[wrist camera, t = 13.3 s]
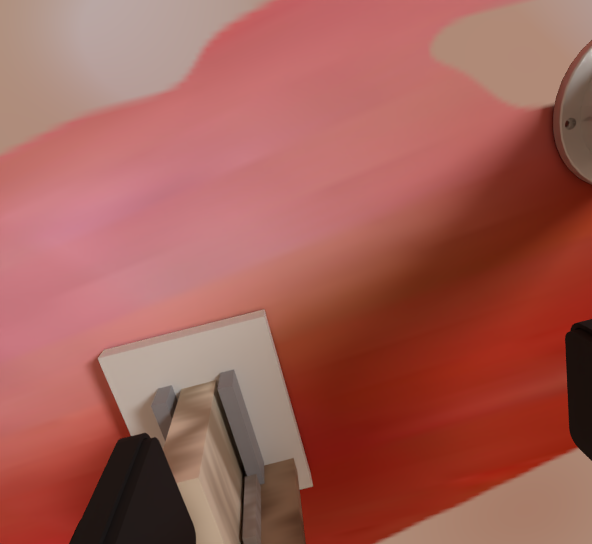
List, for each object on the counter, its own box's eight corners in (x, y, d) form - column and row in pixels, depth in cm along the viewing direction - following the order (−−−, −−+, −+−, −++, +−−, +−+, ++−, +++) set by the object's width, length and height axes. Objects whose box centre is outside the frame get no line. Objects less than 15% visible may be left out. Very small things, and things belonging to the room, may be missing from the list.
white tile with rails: (264, 309, 37) (264, 329, 33) (311, 474, 42) (316, 507, 39) (103, 349, 37) (85, 374, 33) (171, 510, 42) (163, 547, 39)
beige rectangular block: (215, 380, 37) (198, 477, 26) (244, 463, 40) (239, 581, 29) (181, 389, 37) (150, 489, 26) (212, 471, 40) (195, 592, 29)
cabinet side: (289, 444, 39) (302, 571, 28) (297, 470, 40) (312, 603, 29) (160, 477, 39) (120, 617, 28) (171, 502, 40) (136, 648, 29)
